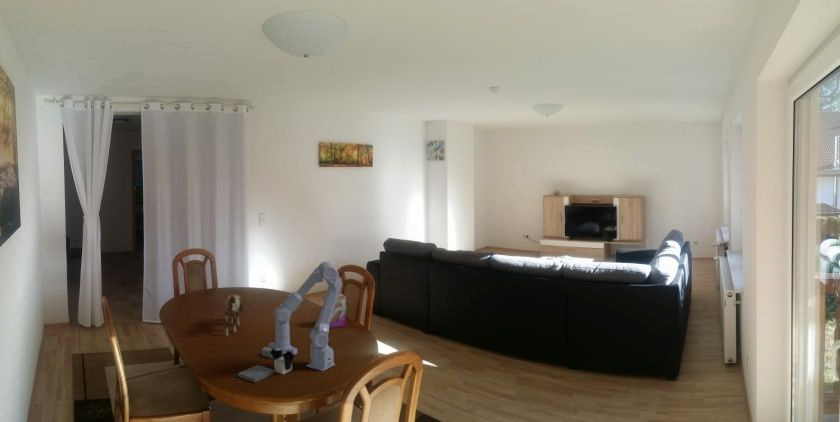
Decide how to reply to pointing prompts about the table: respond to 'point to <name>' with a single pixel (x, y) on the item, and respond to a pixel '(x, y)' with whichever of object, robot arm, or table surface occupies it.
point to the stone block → (267, 352)
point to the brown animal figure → (232, 310)
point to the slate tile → (256, 373)
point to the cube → (281, 366)
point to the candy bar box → (339, 312)
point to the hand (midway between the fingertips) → (283, 367)
